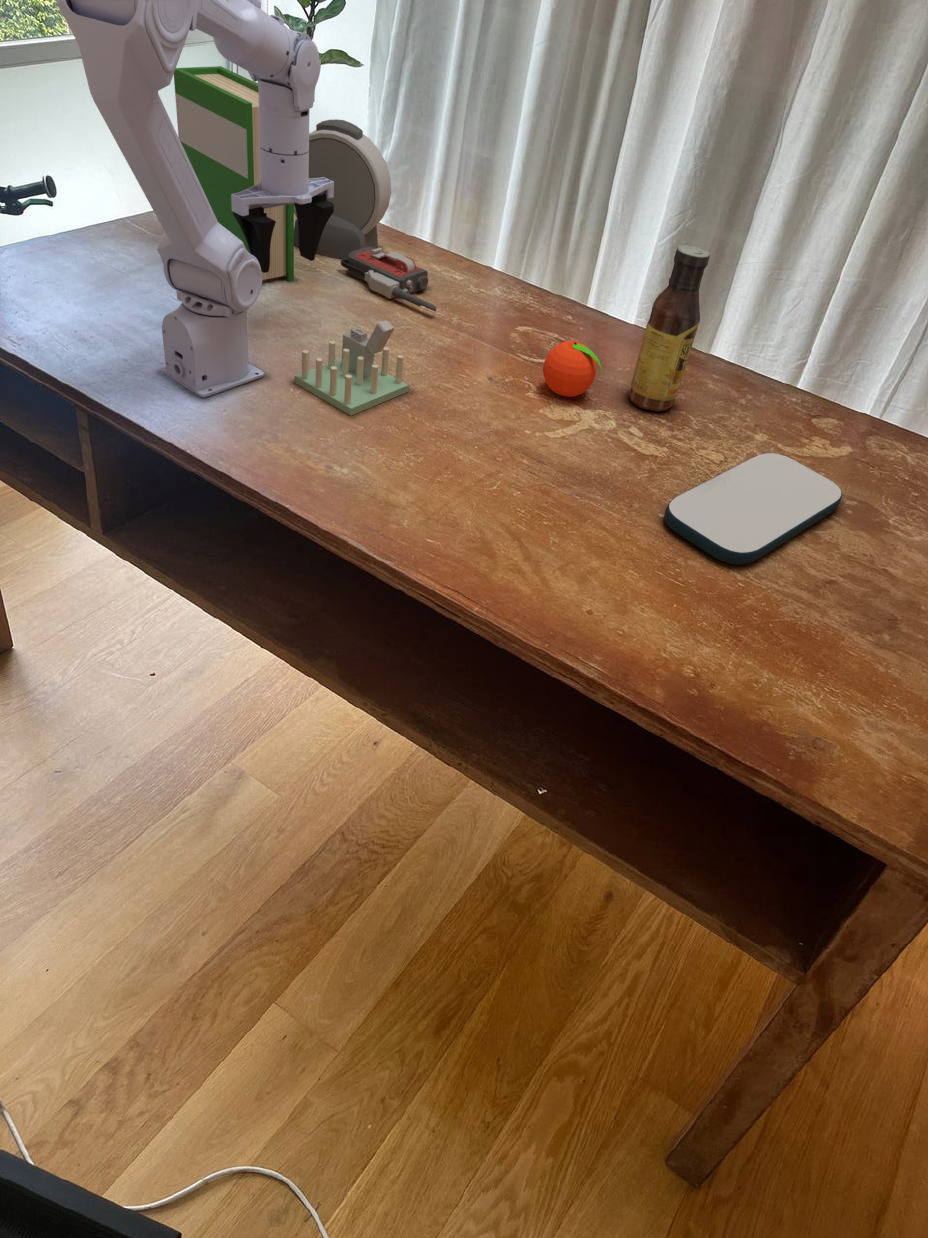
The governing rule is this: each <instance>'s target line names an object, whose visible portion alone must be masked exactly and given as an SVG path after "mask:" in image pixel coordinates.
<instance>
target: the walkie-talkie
mask: <svg viewBox="0 0 928 1238" xmlns="http://www.w3.org/2000/svg"><path fill="white" fill-rule="evenodd" d="M340 266H341V267H343V268H345V269H347V271H348V274H349V275H350V276H352V277H355V278H357V279H359V280H362V281H363V282H366V283H367V285H368V288H369V289H370V290H371V291H373V292H376V293H377V294H380V295H382V296H384V297H385V298H387V299H389V300H390V299H393V298H397V299H402V300H405V301H407V302H408V303H411V304H413V305H415V306H417V307H424V308H426V309H428V310H431V311H434V312H436V311H437V306H436V305H435V304H433V303H430V302H428V301H426V300H424V299H422V298H420V297H418V296H415V295H413V294H414V293H416V292H419V291H424V290H425V289H426V288H428V284H429V278H428V277H429V276H428V274H429V272H428V270H426V269H425V268H423V267H419V266H417V265H416V262H415V261H414V259H412V258H411V257H408V256H405V255H404V254H402V253H400V252H397V251H392V252H388V253H387V252H385V251H383V248H382V247H378V248H377V249H376V248H373V247H370V246H369V247H366V248H362V249H359V250H356V251H352V252H350V253H349V260H348V259H340Z"/></svg>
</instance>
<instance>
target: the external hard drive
mask: <svg viewBox="0 0 928 1238" xmlns="http://www.w3.org/2000/svg"><path fill="white" fill-rule="evenodd" d="M842 498H843V491H842V489H841V488H840V486H839V485H838V484H836V483H835V482H834V481H832V480H831V479H829V478H828V477H826V476H824V475H822V474H820V473H819V472H817V471H815V470H814V469H811V467H808V466H806V465H804V464H803V463H801V462H799V461H797V460H795V459H794V458H791V457H790V456H786V455H784V454H780V453H777V452H763V453H759V454H757V455H755V456H752V457H750V458H749V459H747V460H745V461H742V462H741V463H738V464H737V465H734V466H733V467H731V468H729V469H726V470H725V471H723V472H721V473H720V474H718V475H715V476H713V477H711V478H709V479H707V480H705V481H703V482H702V483H700V484H698V485H695V486H693V487H691V488H690V489H688V490H686V491H684V492H682V493H680V494H678V495H677V496H674V497H673V498H672V499H671V500H670V501H669V502H668V504H667V505H666V507H665V510H664V516H663V517H664V518H663V519H664V522H665V523H666V526H667V527H669V528H670V529H671V530H672V531H673V532H675V534H677V535H679V536H681V537H682V538H683V539H685V540H687V541H688V542H690V543H691V544H692V545H694V546H696V547H698V548H699V549H700V550H702V551H703V552H705V553H706V554H708V555H710V556H711V557H713V558H715V559H717V560H719V561H721V562H723V563H726V564H730V565H735V566H736V565H747V564H750V563H753V562H755V561H757V560H759V559H760V558H762V557H763V556H765V555H766V554H768V553H769V552H771V551H774V549H777V548H778V547H779V546H781V545H783V544H784V543H785V542H787V541H789V540H791V539H792V538H793V537H795V536H797V535H798V534H800V533H802V532H803V531H805V530H806V529H808V528H809V527H811V526H812V525H814V524H816V523H817V522H819V521H821V520H822V519H823V518H825V517H827V516H829V515H830V514H831V513H833V512H834V511H835V510H836V509H837V508H838V506H839V505H840V503H841V500H842Z"/></svg>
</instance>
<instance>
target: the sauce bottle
mask: <svg viewBox="0 0 928 1238" xmlns="http://www.w3.org/2000/svg"><path fill="white" fill-rule="evenodd" d="M710 257H711V253H710V252H709V251H707V250H706V249H704V248H701V247H699V246H694V245H687V244H686V245H679V246H677V248H676V250H675V253H674V257H673V267H672V271H671V274H670V277H669V278H668V285H667V286H666V287H665V288H664V289H663V290H662V291H661V293H659V294H658V295H657V297H656V298H655V300H654V301H653V303H652V307H651V311H650V315H649V319H648V320H647V323H646V326H645V330H644V334H643V338H642V342H641V345H640V349H639V353H638V356H637V360H636V363H635V367H634V372H633V374H632V379H631V382H630V389H629V392H628V397H629V400H630V401H631V402H632V403H633V404H634V405H635V406H636V407H638V408H640V409H643V410H647V411H652V412H663V411H667V410H669V409H670V408H671V407H673V405H674V402H675V399H676V398H677V396H678V393H679V389H680V387H681V384H682V381H683V377H684V373H685V371H686V367H687V365H688V361H689V357H690V355H691V352H692V348H693V345H694V341H695V338H696V334H697V333H698V328H699V326H700V325H699V324H700V321H701V312H700V311H701V309H700V288H701V282H702V280H703V276H704V273H705V269H706V268H707V266H708V265H709V260H710Z"/></svg>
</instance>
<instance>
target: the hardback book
mask: <svg viewBox="0 0 928 1238" xmlns="http://www.w3.org/2000/svg"><path fill="white" fill-rule="evenodd" d="M173 85H174V96H175V109H176V111H175V112H176V123H177V135H178V137H179V139H180V142H181V144H182V146H183V148H184V150H185V152H186V155H187V157H188V159H189V161H190V163H191V165H192V167H193V170H194V172H195V174H196V176H197V178H198V180H199V182H200V185H201V187H202V189H203V191H204V193H205V195H206V198H207V200H208V202H209V204H210V206H211V208H212V210H213V213H214V215H215V217H216V219H217V221H218V222H219V223H220V224H221V225H222V226H223V227H225V228H226V229H227V230H228V231H230V232H231V233H232V234H234V235H235V236H236V237H237V238H239V239H240V240H241V241H242V242H243V243H244V246H245V248H246V250H247V251H248V252H249V253H250V250H249V247H248V244H247V241H246V238H245V236H244V234H243V231H242V229H241V227H240V226H239V224H238V222H237V220H236V218H235V217H234V215H233V211H232V204H231V194H234V193H238V192H241V191H243V190H246V189H248V188H250V187H252V186H254V185H257V184H259V183H260V142H259V93H258V82H257V81H253V80H252V79H250V78H247V77H245V76H243V75H240V74H239V73H237V72H234V71H232V70H230V69H228V68H225V67H223V66H219V65H218V66H195V67H190V66H189V67H176V69H175V72H174V75H173ZM264 213H267V217H269V218H271V219H273V220H275V221H276V223H275V226H274V229H273V233H272V238H271V244H270V267H269V272H266V273H263V272H262V281H264V280H269V279H274V278H279V277H281V278H282V279H284V280H286V281H287V282H293V281H294V280H295V277H294V276H295V245H294V226H295V214H294V203H292V204H287V205H282V206H278V207H273V208H268V209H264ZM250 254H251V253H250Z"/></svg>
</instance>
